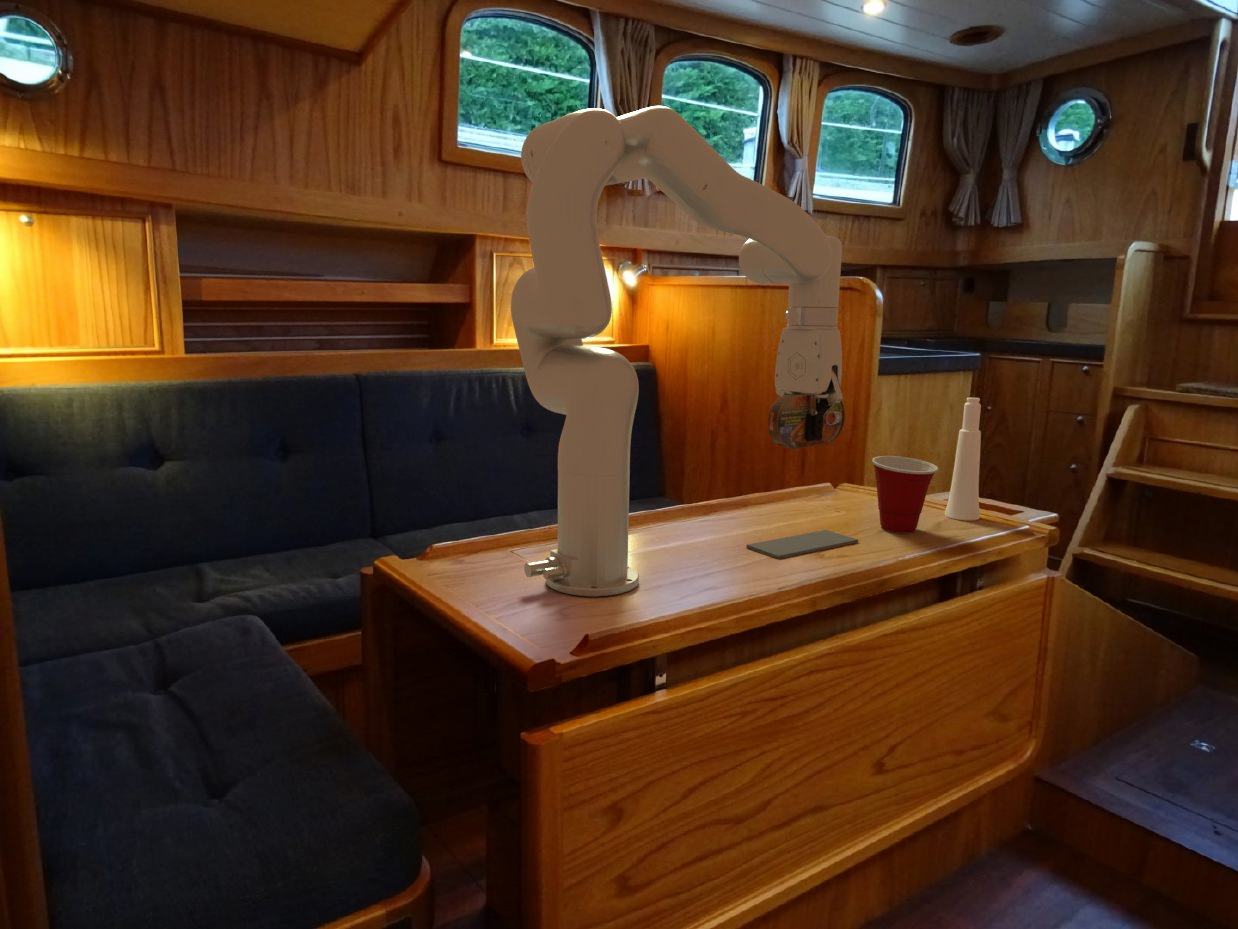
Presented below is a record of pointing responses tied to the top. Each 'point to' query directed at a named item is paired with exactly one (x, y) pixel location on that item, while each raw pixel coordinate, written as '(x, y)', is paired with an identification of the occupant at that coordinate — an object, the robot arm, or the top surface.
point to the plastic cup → (901, 491)
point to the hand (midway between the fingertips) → (805, 437)
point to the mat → (801, 544)
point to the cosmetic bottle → (966, 467)
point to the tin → (801, 422)
